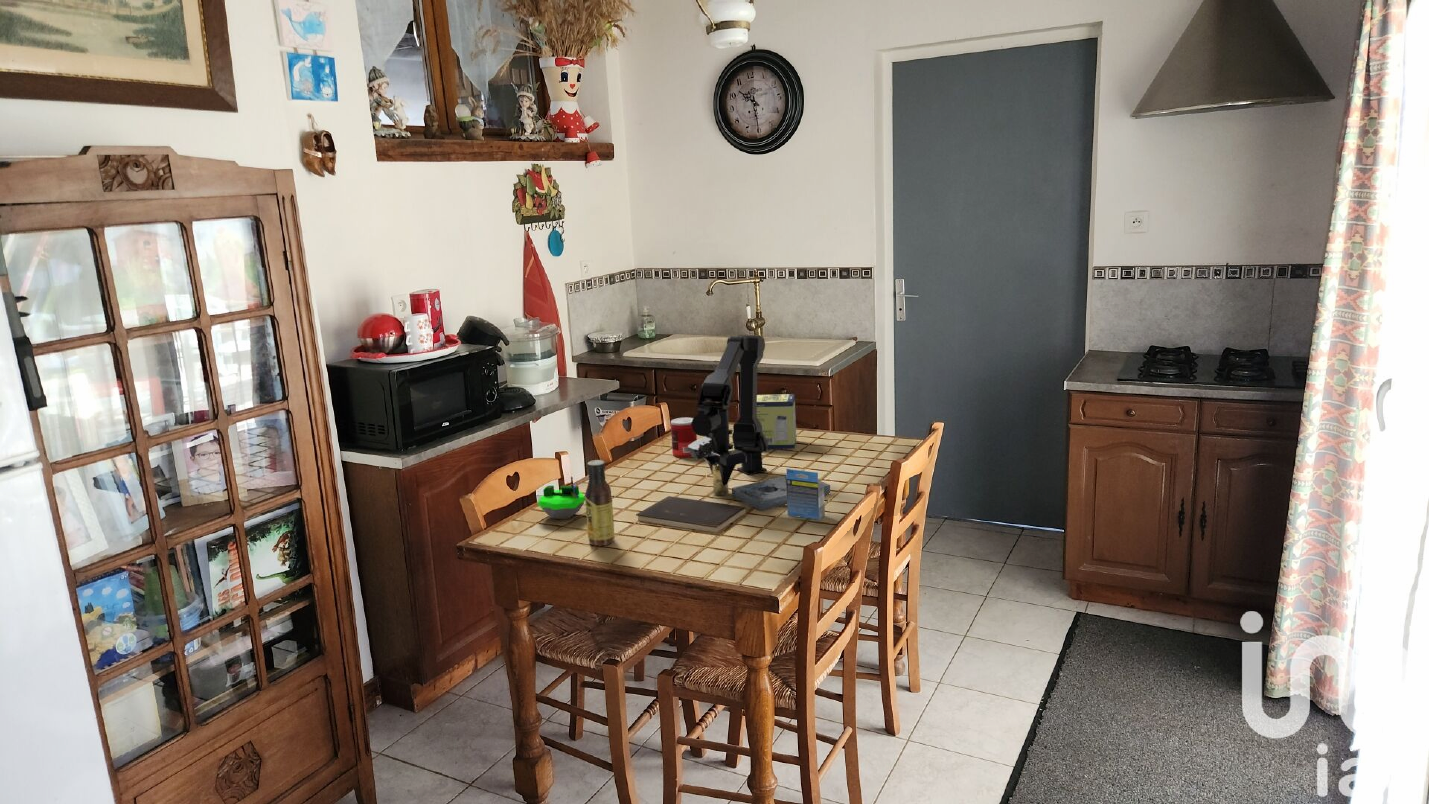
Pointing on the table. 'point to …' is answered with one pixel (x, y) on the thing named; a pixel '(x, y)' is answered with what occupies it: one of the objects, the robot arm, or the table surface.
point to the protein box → (777, 420)
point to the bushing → (718, 481)
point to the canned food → (682, 436)
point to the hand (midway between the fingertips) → (720, 482)
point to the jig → (767, 493)
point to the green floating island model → (561, 501)
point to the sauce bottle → (599, 505)
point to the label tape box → (804, 495)
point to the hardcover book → (692, 513)
